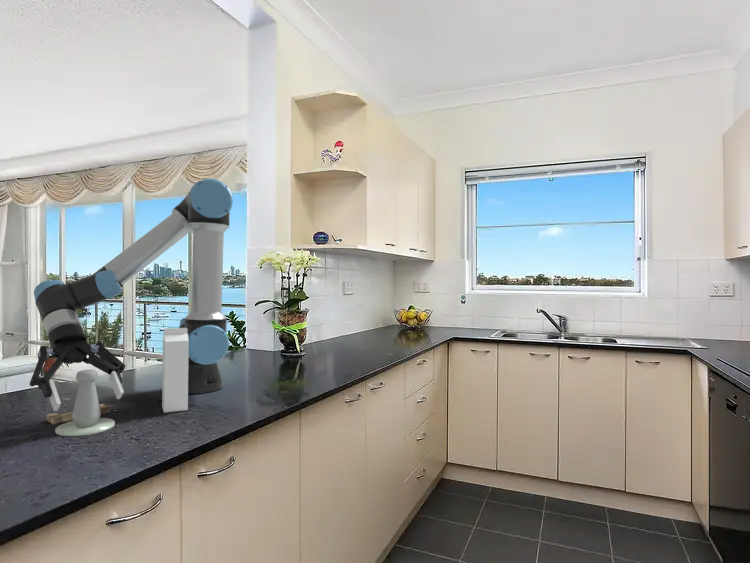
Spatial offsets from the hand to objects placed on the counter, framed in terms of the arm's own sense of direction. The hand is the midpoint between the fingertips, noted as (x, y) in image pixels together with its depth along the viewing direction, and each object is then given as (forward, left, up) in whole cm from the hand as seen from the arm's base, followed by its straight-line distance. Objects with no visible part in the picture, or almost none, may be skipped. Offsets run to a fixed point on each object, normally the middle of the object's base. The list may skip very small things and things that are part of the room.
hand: (90, 401), depth 110 cm
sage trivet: (+2, -2, -7) cm, 7 cm away
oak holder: (+7, -11, -7) cm, 15 cm away
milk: (-14, -17, -7) cm, 23 cm away
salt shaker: (+2, -2, -6) cm, 7 cm away
